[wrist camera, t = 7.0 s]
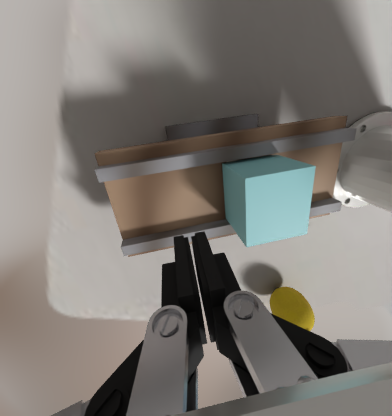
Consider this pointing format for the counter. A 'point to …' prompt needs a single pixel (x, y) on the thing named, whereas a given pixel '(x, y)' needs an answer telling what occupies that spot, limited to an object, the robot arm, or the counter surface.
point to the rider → (268, 198)
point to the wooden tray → (209, 175)
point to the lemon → (292, 307)
